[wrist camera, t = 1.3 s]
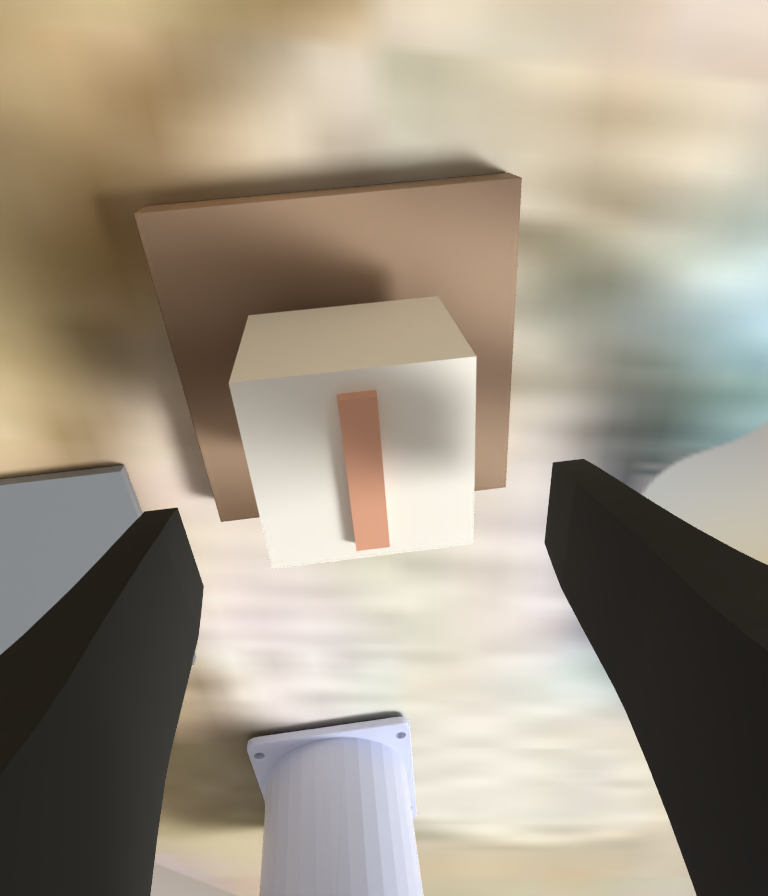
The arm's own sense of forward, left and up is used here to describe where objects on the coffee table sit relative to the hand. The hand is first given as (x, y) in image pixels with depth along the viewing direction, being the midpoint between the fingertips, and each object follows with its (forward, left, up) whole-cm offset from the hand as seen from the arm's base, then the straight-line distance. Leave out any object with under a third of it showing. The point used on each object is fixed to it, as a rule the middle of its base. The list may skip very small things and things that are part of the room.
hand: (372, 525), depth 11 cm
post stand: (0, 0, -8) cm, 9 cm away
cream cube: (0, 0, -6) cm, 6 cm away
